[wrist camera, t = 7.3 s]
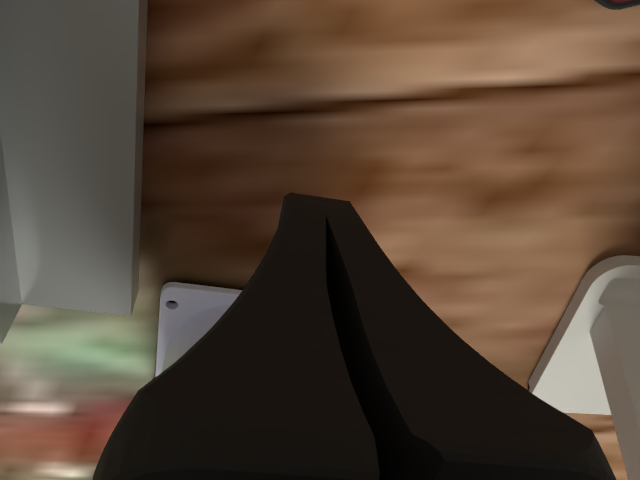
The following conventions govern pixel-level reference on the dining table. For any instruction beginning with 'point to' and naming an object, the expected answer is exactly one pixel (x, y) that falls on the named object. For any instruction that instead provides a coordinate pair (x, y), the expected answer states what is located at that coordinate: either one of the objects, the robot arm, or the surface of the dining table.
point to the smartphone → (618, 3)
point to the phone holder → (599, 354)
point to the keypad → (71, 154)
